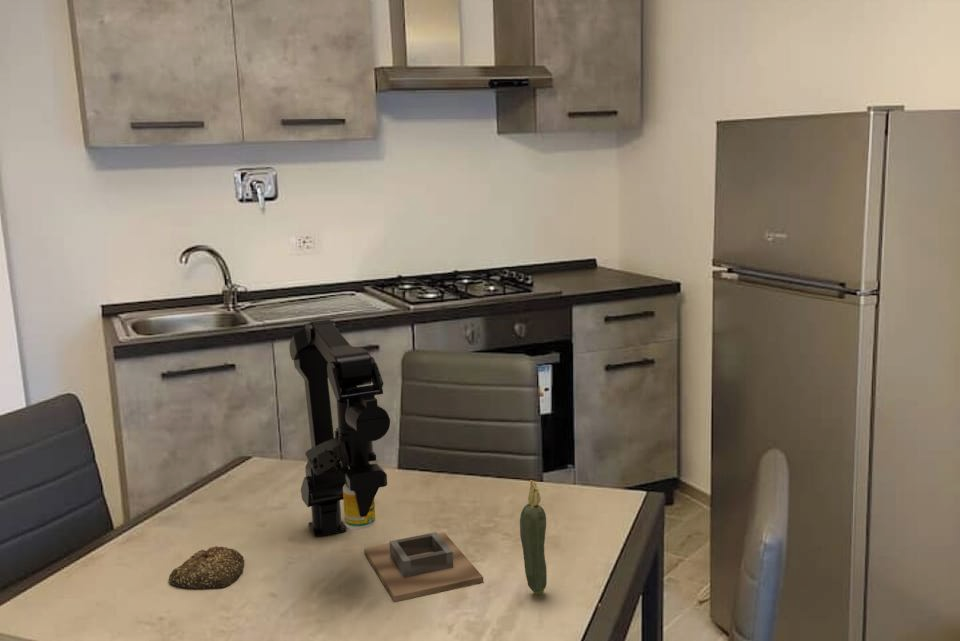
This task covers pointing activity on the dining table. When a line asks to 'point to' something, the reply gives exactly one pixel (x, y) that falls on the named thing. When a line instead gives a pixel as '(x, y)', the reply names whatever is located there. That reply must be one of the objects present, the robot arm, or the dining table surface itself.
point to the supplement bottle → (356, 512)
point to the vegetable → (534, 541)
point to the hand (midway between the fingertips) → (359, 510)
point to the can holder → (421, 566)
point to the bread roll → (209, 569)
